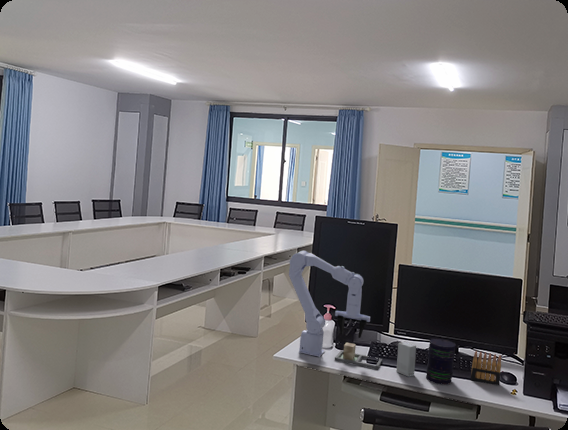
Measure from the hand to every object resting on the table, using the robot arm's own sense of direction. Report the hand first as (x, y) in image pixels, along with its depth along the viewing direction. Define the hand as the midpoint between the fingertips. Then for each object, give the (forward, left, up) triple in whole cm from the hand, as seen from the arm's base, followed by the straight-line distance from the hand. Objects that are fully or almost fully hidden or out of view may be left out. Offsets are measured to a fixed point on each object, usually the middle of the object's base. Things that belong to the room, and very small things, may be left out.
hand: (350, 335), depth 218 cm
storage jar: (+37, -2, -10) cm, 38 cm away
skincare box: (+24, -3, -10) cm, 26 cm away
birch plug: (0, 0, -10) cm, 10 cm away
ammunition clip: (+54, +6, -10) cm, 55 cm away
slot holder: (+4, 0, -10) cm, 11 cm away
